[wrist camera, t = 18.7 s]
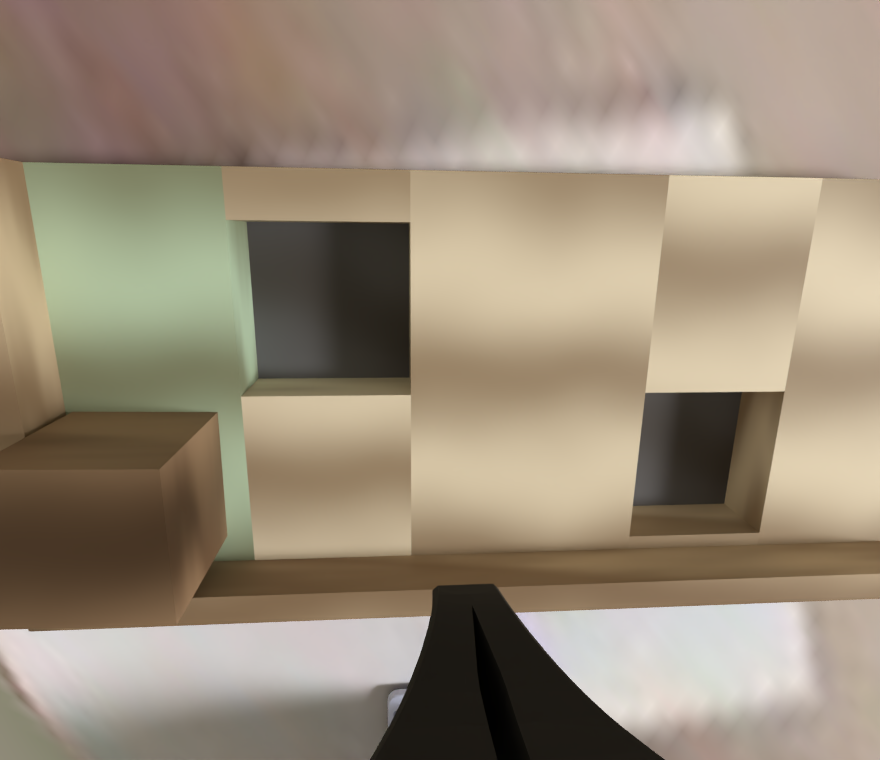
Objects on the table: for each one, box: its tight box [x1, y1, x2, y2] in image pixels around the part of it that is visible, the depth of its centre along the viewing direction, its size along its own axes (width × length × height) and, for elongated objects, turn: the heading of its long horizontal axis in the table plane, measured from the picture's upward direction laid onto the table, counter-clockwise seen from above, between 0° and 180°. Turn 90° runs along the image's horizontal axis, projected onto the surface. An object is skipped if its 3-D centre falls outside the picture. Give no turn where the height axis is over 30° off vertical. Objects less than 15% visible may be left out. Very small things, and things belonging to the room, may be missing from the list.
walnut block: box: [0, 412, 228, 630], centre depth 16 cm, size 4×4×4 cm
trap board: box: [0, 158, 880, 631], centre depth 19 cm, size 14×30×4 cm, turn 88°
